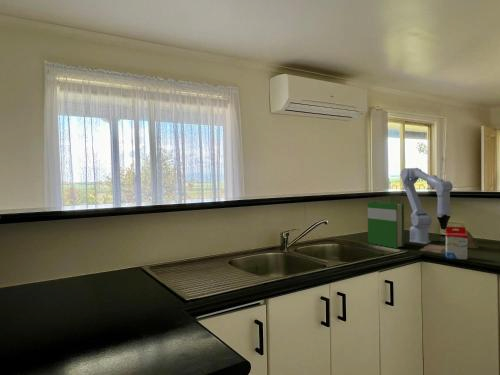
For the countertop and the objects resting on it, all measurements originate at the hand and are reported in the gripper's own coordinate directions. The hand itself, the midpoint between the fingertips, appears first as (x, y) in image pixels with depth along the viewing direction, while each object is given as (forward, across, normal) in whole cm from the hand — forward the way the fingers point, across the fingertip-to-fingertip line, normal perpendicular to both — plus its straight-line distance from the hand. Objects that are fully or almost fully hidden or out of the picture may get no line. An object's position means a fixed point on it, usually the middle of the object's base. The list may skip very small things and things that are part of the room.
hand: (443, 229), depth 190 cm
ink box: (+10, -20, -12) cm, 25 cm away
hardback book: (+10, -14, +26) cm, 31 cm away
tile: (+9, -6, +1) cm, 11 cm away
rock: (+10, +8, -9) cm, 16 cm away
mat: (+10, -9, +1) cm, 13 cm away
